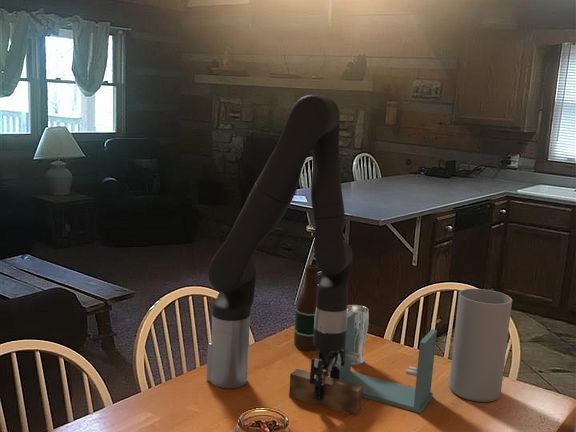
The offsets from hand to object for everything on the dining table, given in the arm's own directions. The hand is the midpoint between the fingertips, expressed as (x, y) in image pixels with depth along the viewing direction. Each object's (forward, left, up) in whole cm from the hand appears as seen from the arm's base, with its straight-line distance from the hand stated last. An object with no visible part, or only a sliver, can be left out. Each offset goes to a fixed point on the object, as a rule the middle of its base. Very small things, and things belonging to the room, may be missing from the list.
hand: (326, 392), depth 146 cm
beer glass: (-4, +27, -3) cm, 28 cm away
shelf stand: (+9, +13, -3) cm, 16 cm away
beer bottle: (-19, +29, -3) cm, 35 cm away
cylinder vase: (+29, +27, -3) cm, 40 cm away
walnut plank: (0, 0, -3) cm, 3 cm away
